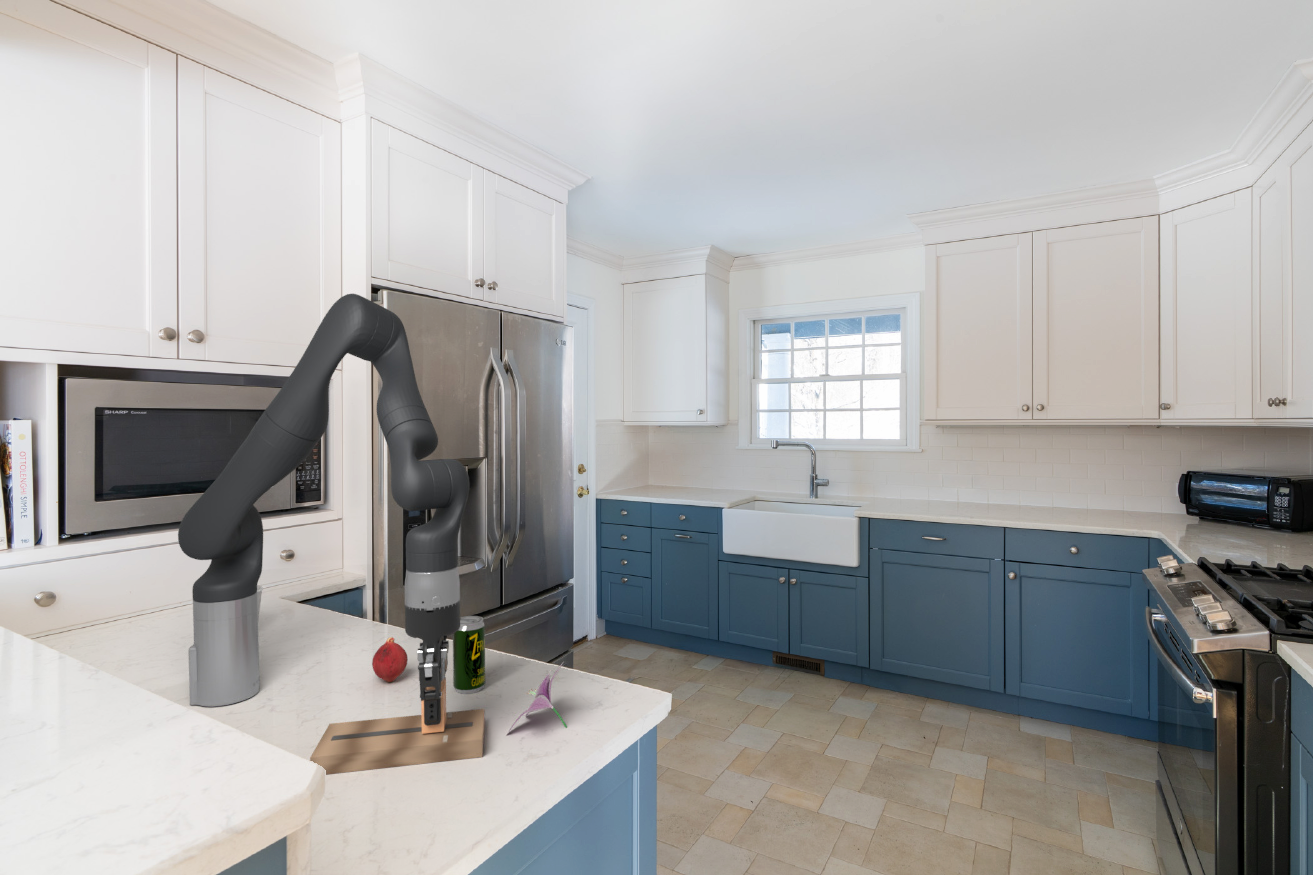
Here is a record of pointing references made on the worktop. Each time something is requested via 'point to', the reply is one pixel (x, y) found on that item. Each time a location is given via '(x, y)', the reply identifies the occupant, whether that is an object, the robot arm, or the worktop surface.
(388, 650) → the onion
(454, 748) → the fader base
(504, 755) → the worktop surface
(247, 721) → the worktop surface
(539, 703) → the lily
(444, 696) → the fader knob
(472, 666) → the green soda can
